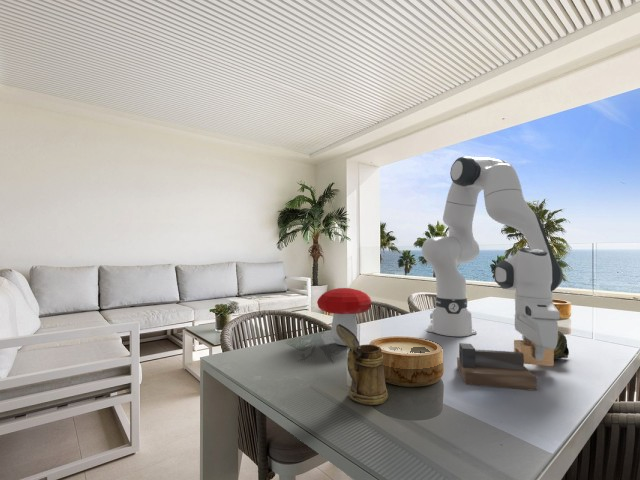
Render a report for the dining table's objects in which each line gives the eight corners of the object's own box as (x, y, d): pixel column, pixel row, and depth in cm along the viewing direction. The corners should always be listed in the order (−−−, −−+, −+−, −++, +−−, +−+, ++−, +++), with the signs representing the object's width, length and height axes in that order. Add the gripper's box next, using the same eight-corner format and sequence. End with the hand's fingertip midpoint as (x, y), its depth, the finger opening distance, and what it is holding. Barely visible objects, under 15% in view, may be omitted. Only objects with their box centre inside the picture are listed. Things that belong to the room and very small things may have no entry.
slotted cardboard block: (514, 356, 98) (514, 339, 98) (546, 359, 96) (546, 341, 96) (520, 363, 92) (520, 345, 92) (555, 366, 90) (555, 347, 91)
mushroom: (379, 341, 123) (379, 287, 124) (361, 356, 107) (361, 293, 107) (330, 335, 132) (330, 284, 133) (307, 347, 116) (307, 289, 116)
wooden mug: (325, 400, 76) (325, 320, 76) (368, 385, 84) (368, 313, 84) (352, 416, 69) (352, 327, 69) (396, 398, 77) (395, 319, 77)
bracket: (457, 367, 96) (456, 339, 96) (518, 372, 93) (518, 343, 93) (465, 384, 85) (465, 352, 85) (536, 390, 81) (536, 356, 81)
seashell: (585, 368, 96) (584, 332, 96) (541, 365, 98) (540, 330, 99) (566, 356, 106) (565, 324, 107) (526, 354, 109) (525, 323, 109)
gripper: (508, 299, 105) (508, 343, 105) (535, 312, 85) (534, 367, 85) (531, 300, 104) (531, 345, 104) (563, 314, 84) (563, 369, 84)
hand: (533, 355), depth 94 cm, fingers closed on slotted cardboard block, 6 cm apart
